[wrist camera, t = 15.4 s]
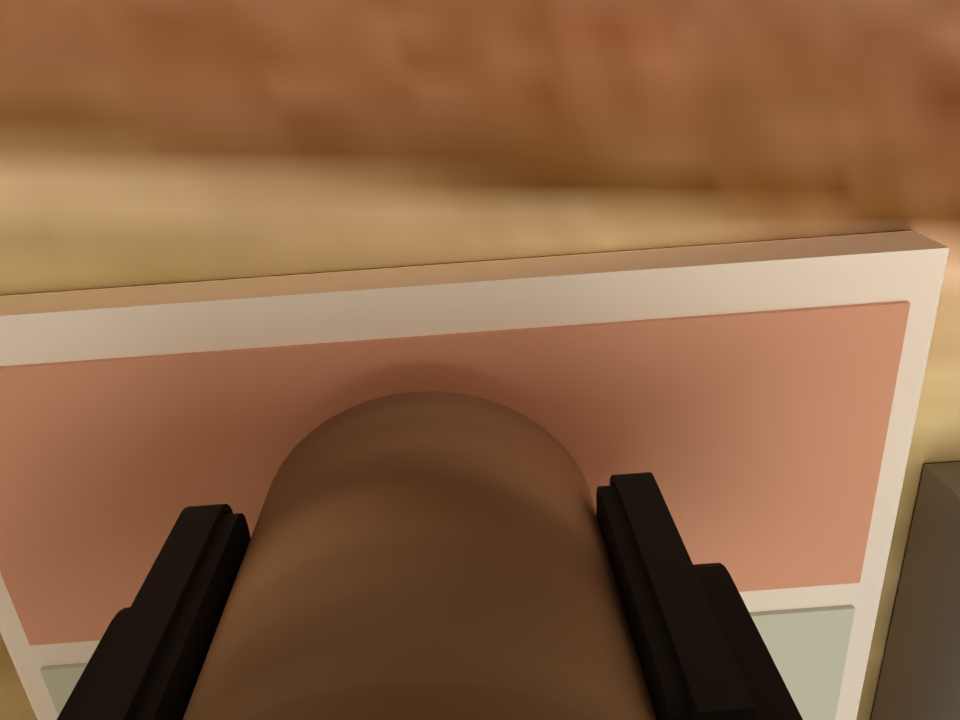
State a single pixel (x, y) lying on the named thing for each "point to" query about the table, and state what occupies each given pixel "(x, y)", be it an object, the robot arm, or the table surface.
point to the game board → (498, 378)
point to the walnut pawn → (425, 579)
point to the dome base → (926, 609)
